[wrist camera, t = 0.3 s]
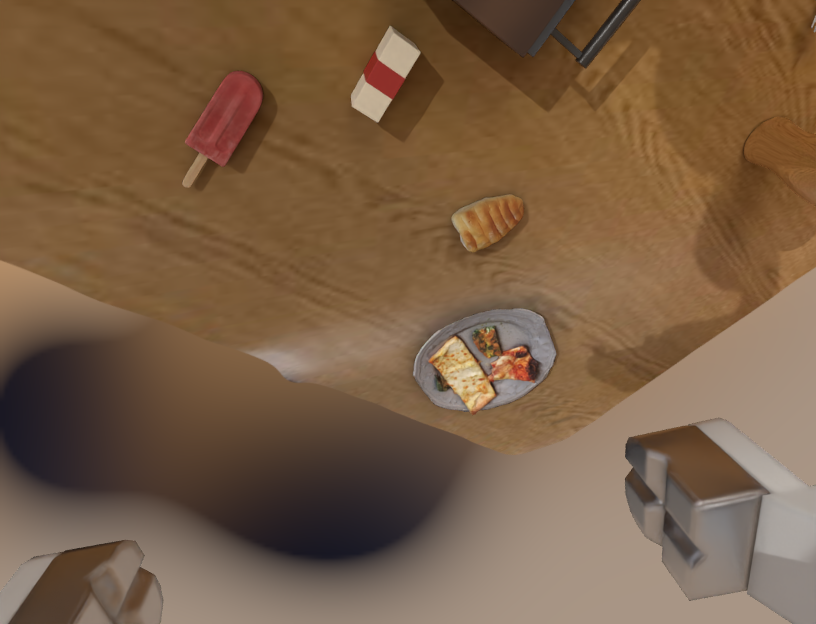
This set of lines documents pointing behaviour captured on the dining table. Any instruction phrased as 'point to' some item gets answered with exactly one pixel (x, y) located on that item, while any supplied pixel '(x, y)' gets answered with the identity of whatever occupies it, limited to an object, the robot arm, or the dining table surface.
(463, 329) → the food plate
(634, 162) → the dining table surface
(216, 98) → the popsicle
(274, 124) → the dining table surface
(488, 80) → the dining table surface
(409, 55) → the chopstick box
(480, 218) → the pastry
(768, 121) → the beer glass
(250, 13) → the dining table surface
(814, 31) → the fork
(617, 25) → the drawer
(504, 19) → the cabinet
